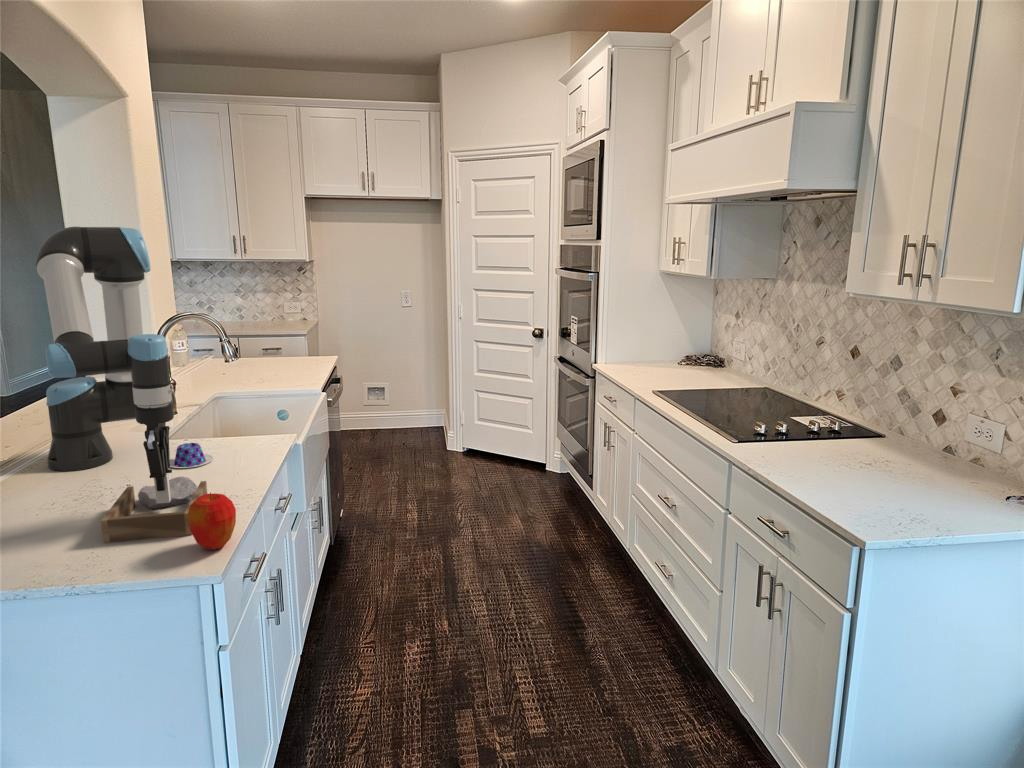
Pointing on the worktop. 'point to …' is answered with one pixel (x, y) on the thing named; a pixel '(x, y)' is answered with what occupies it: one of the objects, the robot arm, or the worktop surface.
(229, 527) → the apple
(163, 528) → the cubby
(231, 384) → the worktop surface
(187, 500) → the stone block
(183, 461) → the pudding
